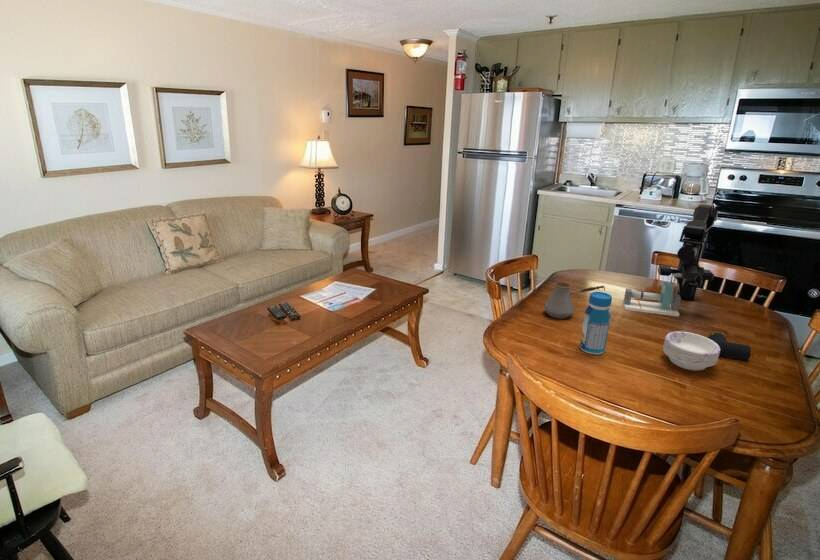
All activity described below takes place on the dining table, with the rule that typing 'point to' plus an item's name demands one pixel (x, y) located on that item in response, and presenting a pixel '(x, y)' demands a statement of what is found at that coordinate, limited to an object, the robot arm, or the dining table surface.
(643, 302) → the pipe rig
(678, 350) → the paper bowls
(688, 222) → the robot arm
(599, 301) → the beverage bottle
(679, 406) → the dining table surface
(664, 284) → the sleeve collar
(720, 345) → the pipe connector
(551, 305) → the coffee pot
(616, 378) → the dining table surface
